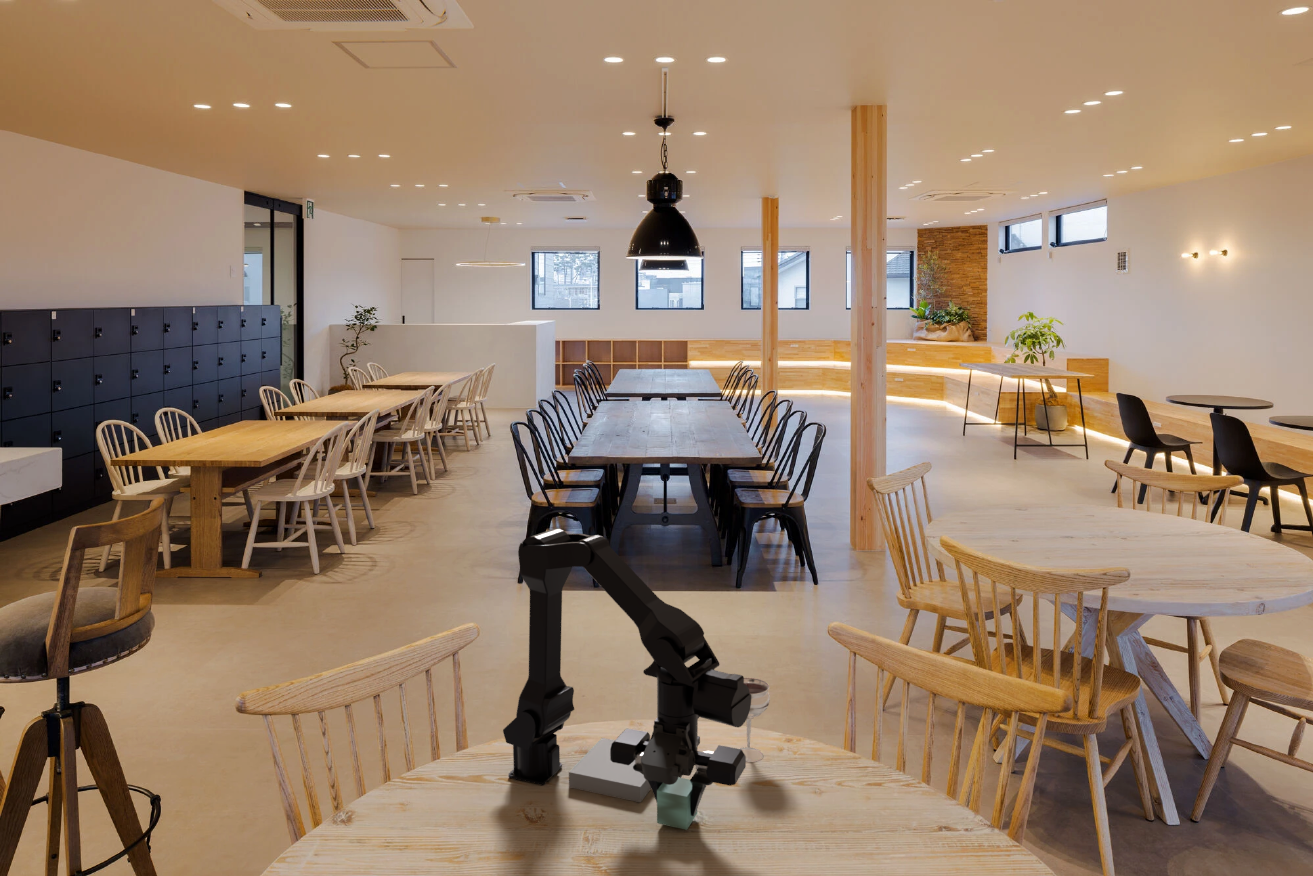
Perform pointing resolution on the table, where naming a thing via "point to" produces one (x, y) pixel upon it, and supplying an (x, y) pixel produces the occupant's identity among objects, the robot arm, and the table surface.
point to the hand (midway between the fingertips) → (677, 811)
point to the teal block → (675, 804)
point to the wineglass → (755, 712)
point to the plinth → (608, 775)
